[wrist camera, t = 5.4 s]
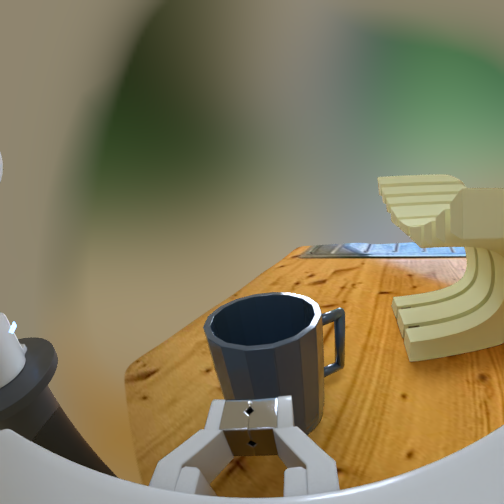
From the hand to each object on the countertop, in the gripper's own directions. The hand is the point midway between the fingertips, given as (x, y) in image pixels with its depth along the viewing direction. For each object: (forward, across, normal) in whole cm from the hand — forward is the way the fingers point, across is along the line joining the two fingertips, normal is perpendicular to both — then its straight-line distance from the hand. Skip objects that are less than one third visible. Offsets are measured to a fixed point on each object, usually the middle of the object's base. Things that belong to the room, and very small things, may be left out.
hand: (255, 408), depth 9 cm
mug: (+10, -1, +11) cm, 15 cm away
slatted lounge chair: (+18, -23, +11) cm, 31 cm away
